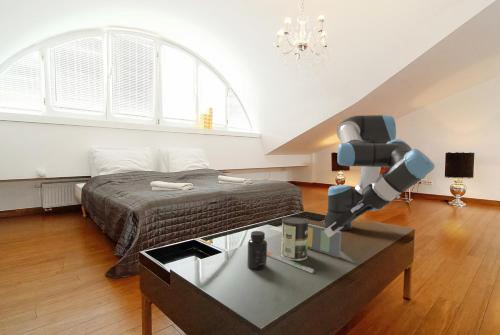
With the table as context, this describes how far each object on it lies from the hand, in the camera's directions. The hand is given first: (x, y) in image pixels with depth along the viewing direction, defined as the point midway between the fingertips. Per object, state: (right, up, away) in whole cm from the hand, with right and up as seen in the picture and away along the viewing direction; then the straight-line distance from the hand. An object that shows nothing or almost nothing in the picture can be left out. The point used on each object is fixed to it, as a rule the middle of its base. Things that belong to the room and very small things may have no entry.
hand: (327, 233), depth 89 cm
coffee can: (-10, -12, +11) cm, 19 cm away
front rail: (-15, -11, +6) cm, 20 cm away
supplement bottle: (-25, -12, 0) cm, 27 cm away
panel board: (-1, -11, +19) cm, 22 cm away
